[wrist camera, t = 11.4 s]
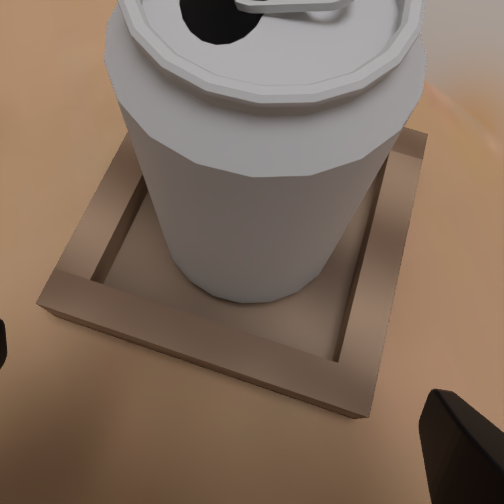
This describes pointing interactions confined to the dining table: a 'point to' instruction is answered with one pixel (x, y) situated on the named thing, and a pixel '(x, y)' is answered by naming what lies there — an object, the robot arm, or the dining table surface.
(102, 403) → the dining table surface
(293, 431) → the dining table surface
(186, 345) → the brown wooden tray
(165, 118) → the can
